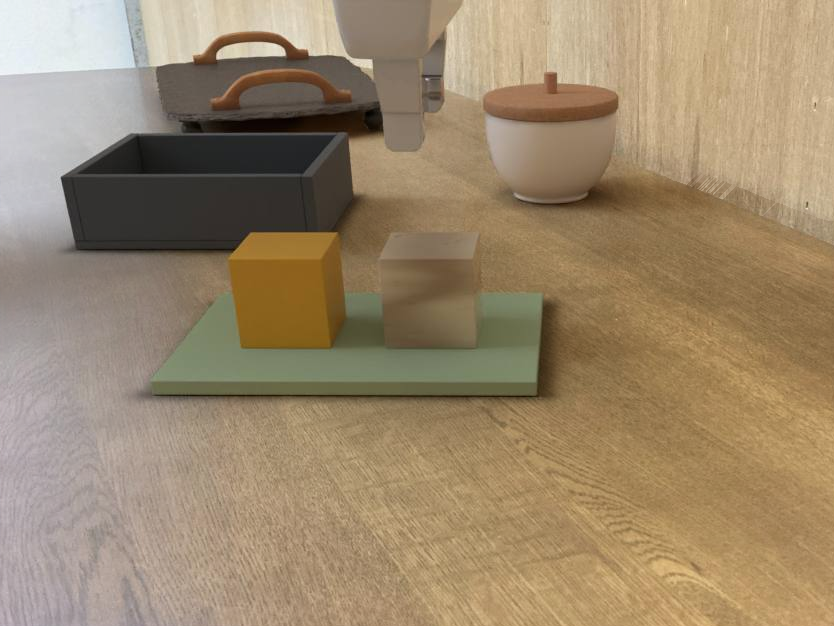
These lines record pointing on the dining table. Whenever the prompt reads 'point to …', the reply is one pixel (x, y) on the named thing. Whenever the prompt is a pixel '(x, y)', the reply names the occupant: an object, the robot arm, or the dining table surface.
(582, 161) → the lidded sugar bowl
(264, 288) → the mustard block
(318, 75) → the serving tray
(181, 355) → the mat
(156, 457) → the dining table surface
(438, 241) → the cream block
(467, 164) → the dining table surface
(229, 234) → the box
